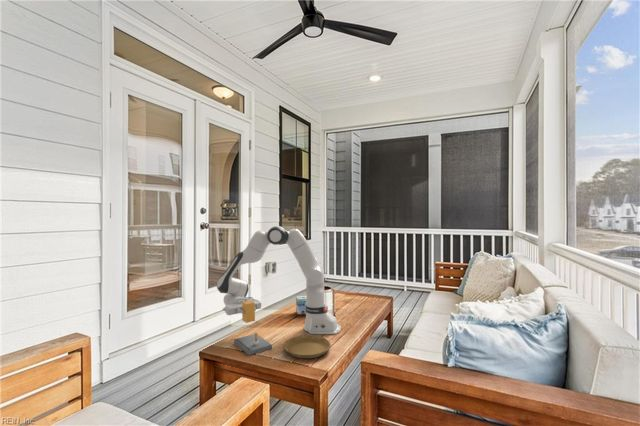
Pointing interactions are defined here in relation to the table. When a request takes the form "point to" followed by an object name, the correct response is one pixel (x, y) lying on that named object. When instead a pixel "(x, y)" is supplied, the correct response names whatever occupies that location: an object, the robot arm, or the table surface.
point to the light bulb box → (300, 304)
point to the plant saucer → (307, 346)
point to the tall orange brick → (248, 311)
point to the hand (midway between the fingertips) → (249, 310)
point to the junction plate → (252, 344)
